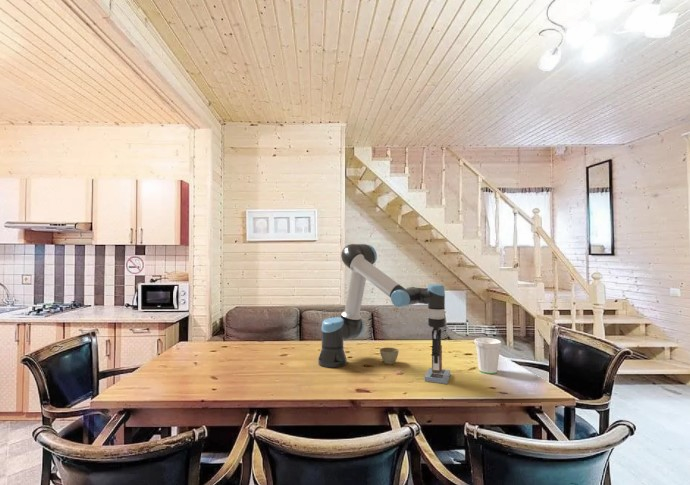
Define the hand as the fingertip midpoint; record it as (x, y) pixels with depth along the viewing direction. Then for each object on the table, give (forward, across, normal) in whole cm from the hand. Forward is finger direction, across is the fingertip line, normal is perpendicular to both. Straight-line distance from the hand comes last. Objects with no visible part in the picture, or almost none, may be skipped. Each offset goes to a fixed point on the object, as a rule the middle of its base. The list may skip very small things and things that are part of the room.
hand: (436, 368), depth 166 cm
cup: (+6, +22, -22) cm, 32 cm away
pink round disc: (+5, +4, +19) cm, 20 cm away
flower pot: (+6, +17, +27) cm, 32 cm away
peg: (+2, 0, 0) cm, 2 cm away
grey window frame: (+5, +4, 0) cm, 6 cm away
